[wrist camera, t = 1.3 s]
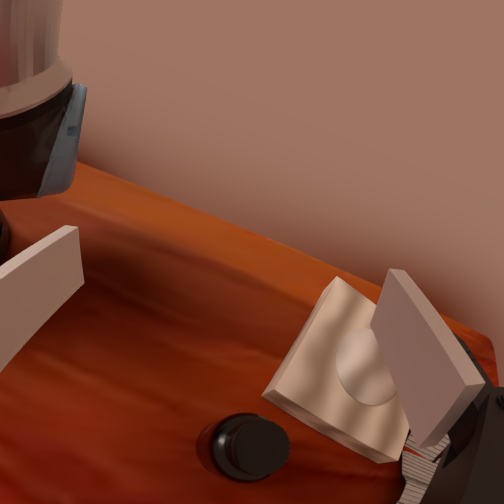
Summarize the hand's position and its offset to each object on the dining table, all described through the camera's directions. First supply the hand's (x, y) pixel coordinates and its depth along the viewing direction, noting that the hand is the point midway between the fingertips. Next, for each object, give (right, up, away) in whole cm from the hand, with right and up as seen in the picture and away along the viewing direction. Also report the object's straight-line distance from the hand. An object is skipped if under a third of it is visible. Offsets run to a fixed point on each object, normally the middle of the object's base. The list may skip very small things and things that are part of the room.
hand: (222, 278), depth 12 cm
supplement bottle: (-2, -21, +17) cm, 27 cm away
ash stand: (+15, -16, +27) cm, 35 cm away
